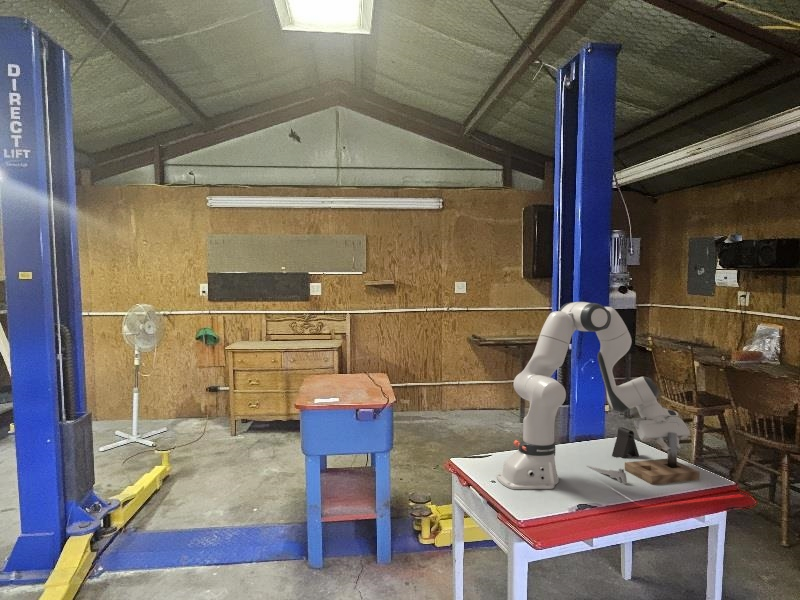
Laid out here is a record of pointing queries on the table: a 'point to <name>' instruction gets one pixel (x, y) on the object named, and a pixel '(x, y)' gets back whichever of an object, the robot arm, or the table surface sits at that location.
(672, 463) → the peg
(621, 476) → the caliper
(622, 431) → the black a-frame stand
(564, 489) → the table surface
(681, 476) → the hole block
